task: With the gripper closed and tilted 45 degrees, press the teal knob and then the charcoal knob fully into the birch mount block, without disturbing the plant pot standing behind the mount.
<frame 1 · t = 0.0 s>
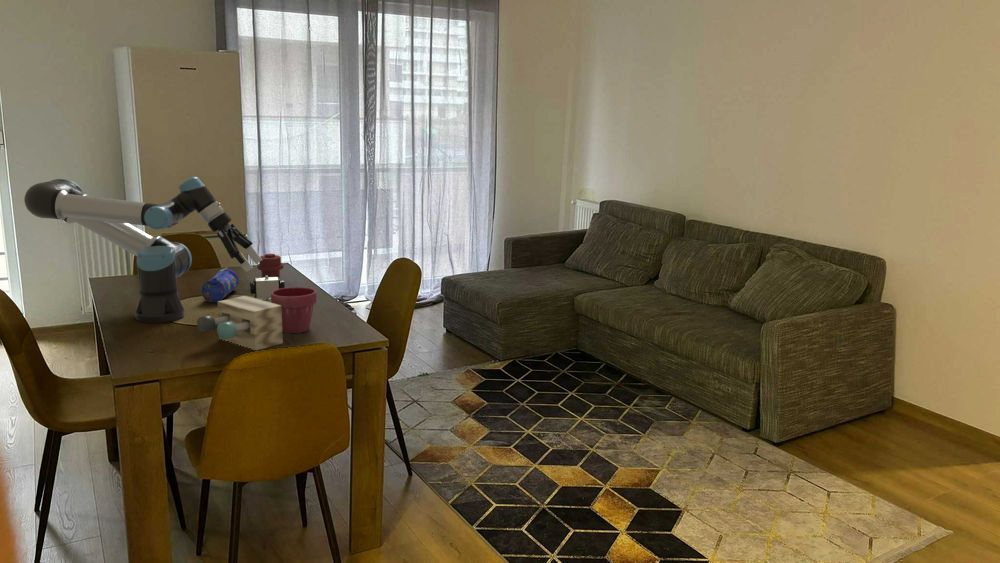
hand: (254, 266, 276), 15 cm above the table, tool tilted 35°, fingers open, 13 cm apart
mechanical component: (271, 284, 315), on the table
pencil case: (221, 297, 295), on the table
pneumatic valve: (268, 308, 279), on the table
knob charcoal: (219, 320, 237), point 7 cm above the table, slide at 5.0 cm
mount: (250, 340, 242), on the table
plant pot: (295, 329, 255), on the table
knob teal: (240, 327, 232), point 7 cm above the table, slide at 5.0 cm
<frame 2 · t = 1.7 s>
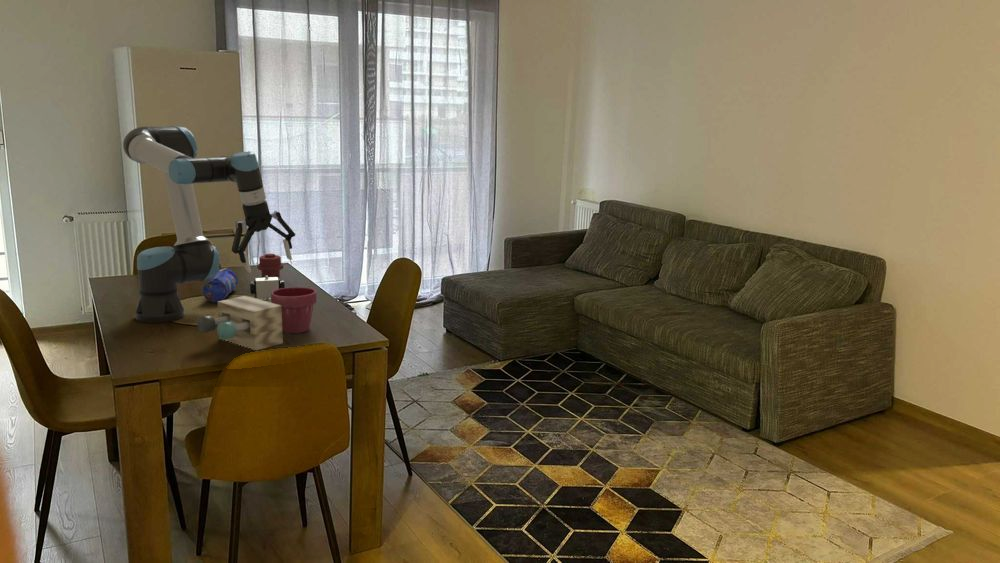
hand: (269, 265, 251), 21 cm above the table, tool pointing down, fingers open, 13 cm apart
nothing on the table moved.
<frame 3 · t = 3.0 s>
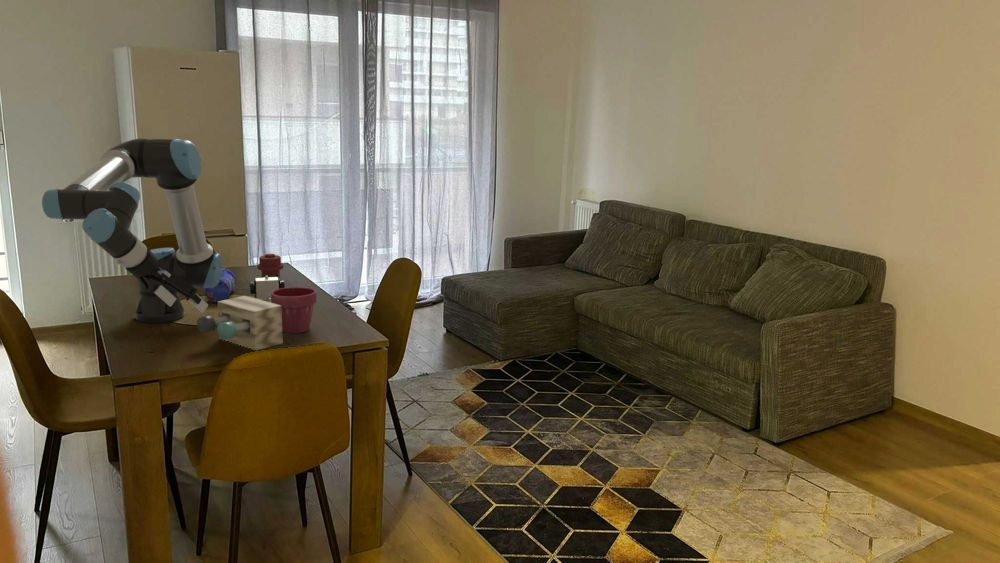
hand: (188, 305, 216), 17 cm above the table, tool tilted 40°, fingers open, 13 cm apart
nothing on the table moved.
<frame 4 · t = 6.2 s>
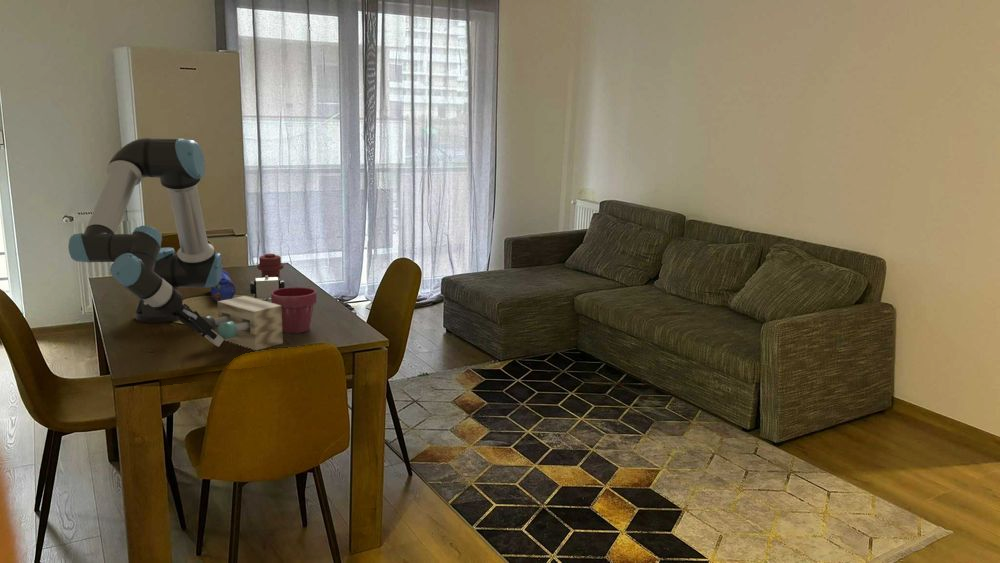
hand: (220, 342, 227), 4 cm above the table, tool tilted 45°, fingers closed
knob teal: (241, 326, 232), point 7 cm above the table, slide at 4.6 cm, touching gripper
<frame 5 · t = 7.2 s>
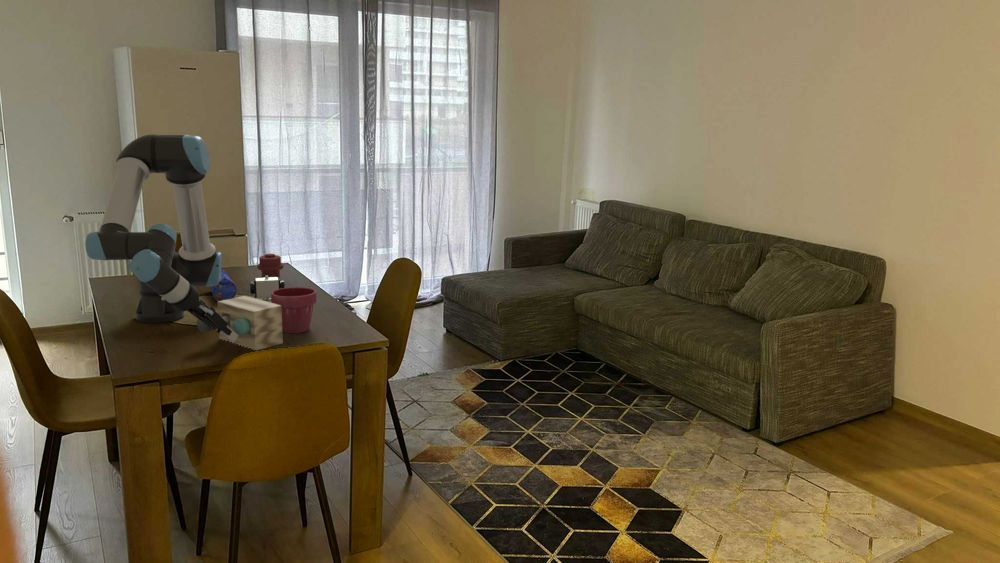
hand: (234, 338, 231), 4 cm above the table, tool tilted 45°, fingers closed
knob teal: (254, 323, 236), point 7 cm above the table, slide at -0.2 cm, touching gripper
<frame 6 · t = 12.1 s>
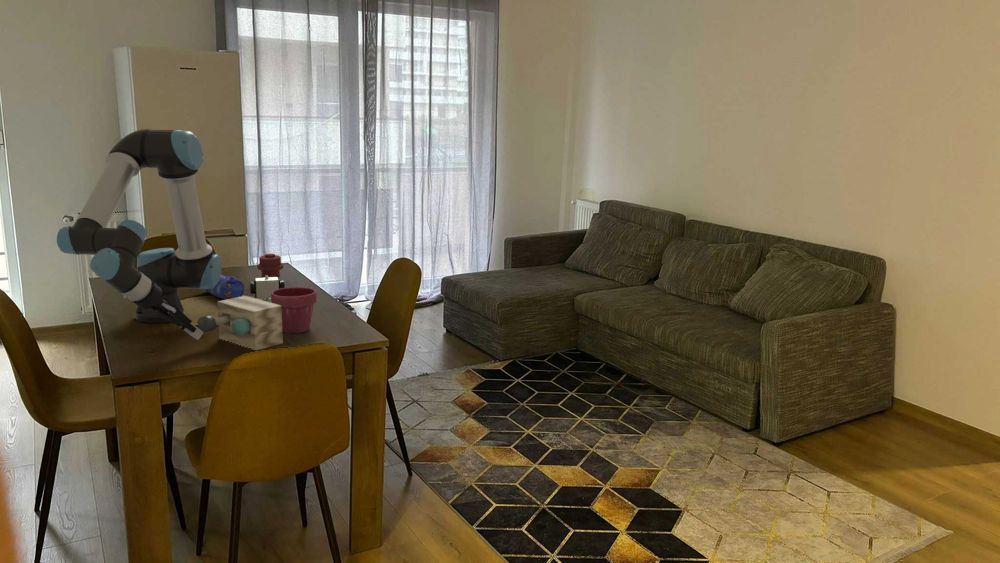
hand: (199, 335, 232), 4 cm above the table, tool tilted 45°, fingers closed
knob charcoal: (220, 320, 238), point 7 cm above the table, slide at 4.8 cm, touching gripper
knob teal: (254, 323, 236), point 7 cm above the table, slide at -0.1 cm
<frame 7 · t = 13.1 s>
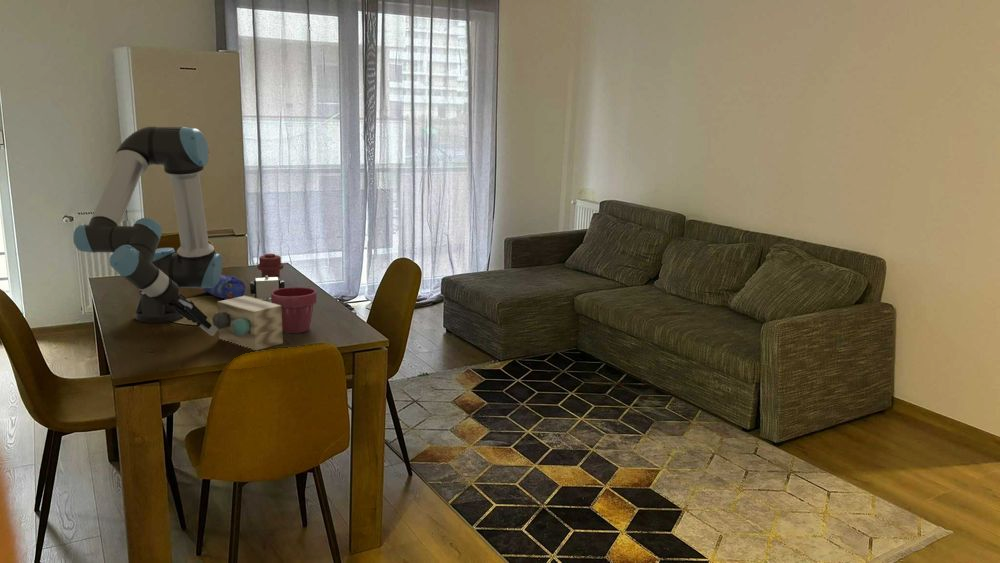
hand: (214, 332, 236), 4 cm above the table, tool tilted 45°, fingers closed
knob charcoal: (234, 317, 241), point 7 cm above the table, slide at -0.2 cm, touching gripper
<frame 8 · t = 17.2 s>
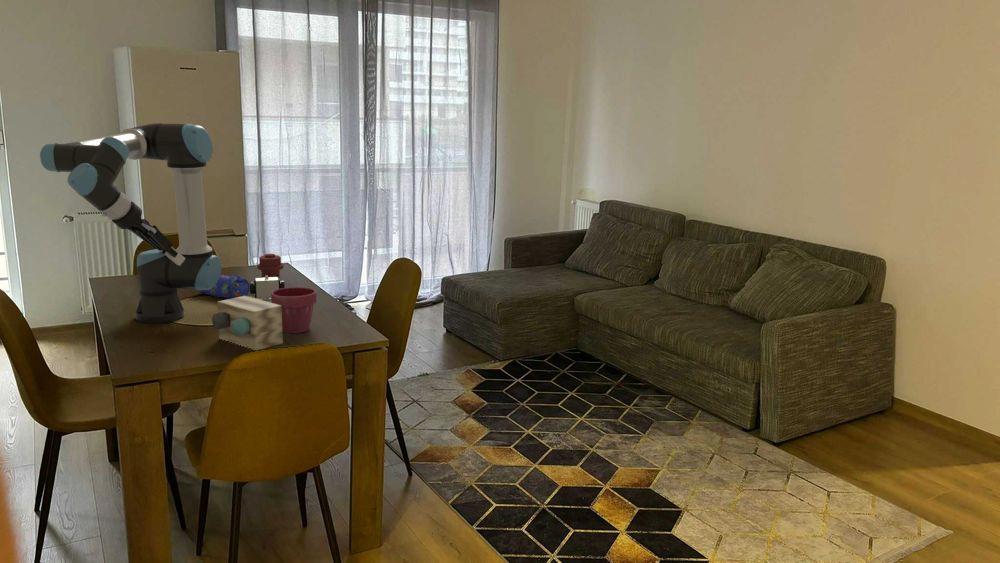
hand: (181, 261, 229), 26 cm above the table, tool tilted 45°, fingers closed
knob charcoal: (234, 317, 241), point 7 cm above the table, slide at -0.1 cm
at the end: knob teal slide at -0.1 cm; knob charcoal slide at -0.1 cm; plant pot moved 0.2 cm from its start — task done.
